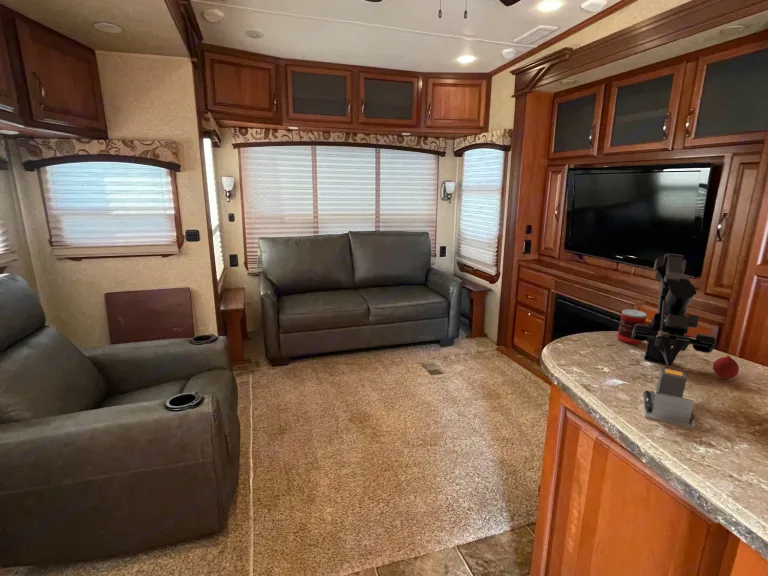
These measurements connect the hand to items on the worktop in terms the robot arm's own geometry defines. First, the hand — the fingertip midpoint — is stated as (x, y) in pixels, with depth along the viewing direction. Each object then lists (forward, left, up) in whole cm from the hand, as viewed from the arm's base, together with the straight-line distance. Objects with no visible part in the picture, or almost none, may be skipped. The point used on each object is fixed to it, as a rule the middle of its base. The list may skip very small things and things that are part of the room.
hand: (669, 365), depth 108 cm
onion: (+13, +22, -9) cm, 27 cm away
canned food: (-14, +37, -9) cm, 40 cm away
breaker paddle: (+1, -8, -7) cm, 11 cm away
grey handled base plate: (+2, -10, -8) cm, 13 cm away
